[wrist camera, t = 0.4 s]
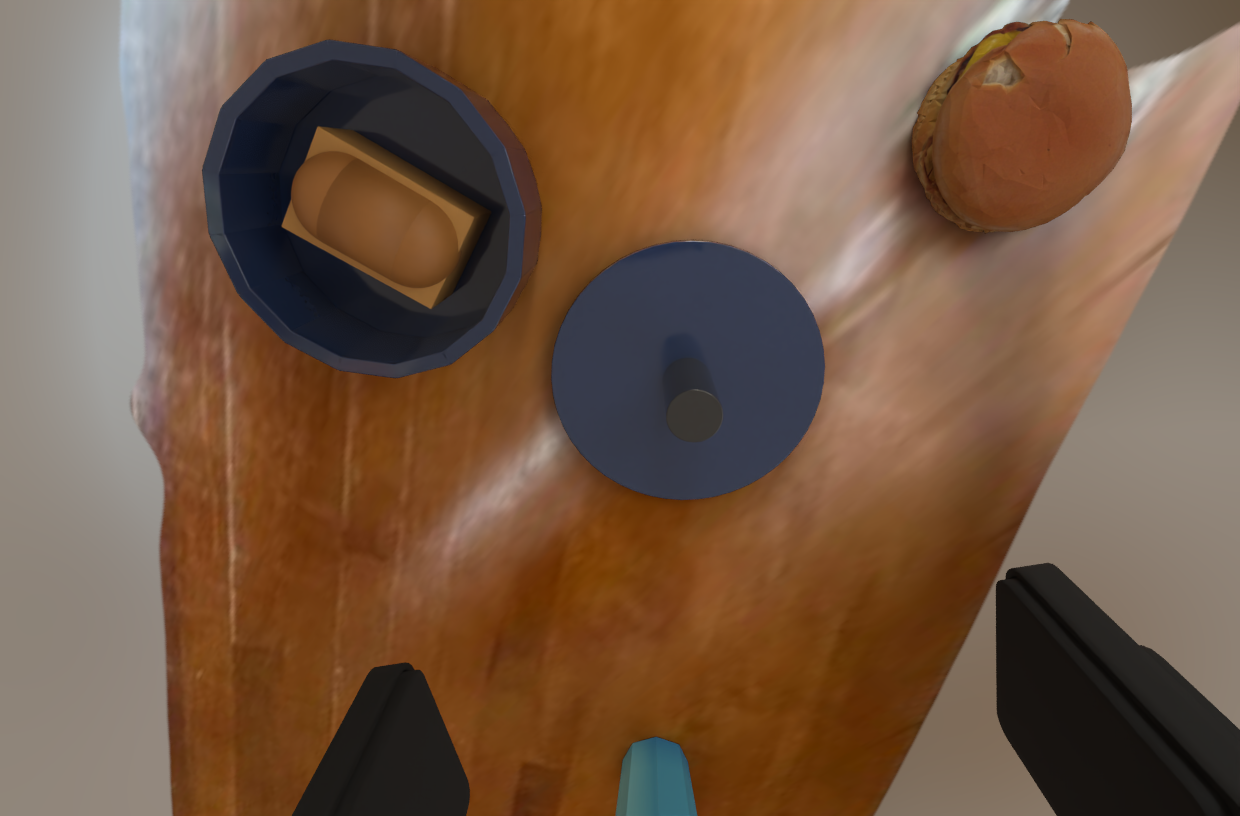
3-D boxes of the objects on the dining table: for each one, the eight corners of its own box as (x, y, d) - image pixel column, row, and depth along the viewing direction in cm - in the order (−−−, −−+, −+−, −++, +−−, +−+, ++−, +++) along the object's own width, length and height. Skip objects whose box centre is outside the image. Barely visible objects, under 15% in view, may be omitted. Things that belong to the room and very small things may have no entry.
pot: (327, 0, 32) (262, -34, 27) (590, 162, 35) (581, 163, 29) (236, 263, 38) (166, 281, 32) (471, 389, 40) (444, 425, 34)
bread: (315, 218, 36) (255, 229, 30) (349, 128, 34) (293, 121, 29) (454, 296, 37) (421, 319, 32) (494, 212, 36) (467, 222, 30)
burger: (1012, 255, 36) (1063, 267, 32) (872, 184, 35) (905, 186, 31) (1130, 80, 33) (1205, 66, 28) (980, -5, 32) (1035, -33, 27)
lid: (639, 182, 35) (639, 187, 29) (875, 329, 38) (924, 363, 31) (508, 416, 41) (483, 465, 34) (722, 530, 43) (737, 595, 37)
